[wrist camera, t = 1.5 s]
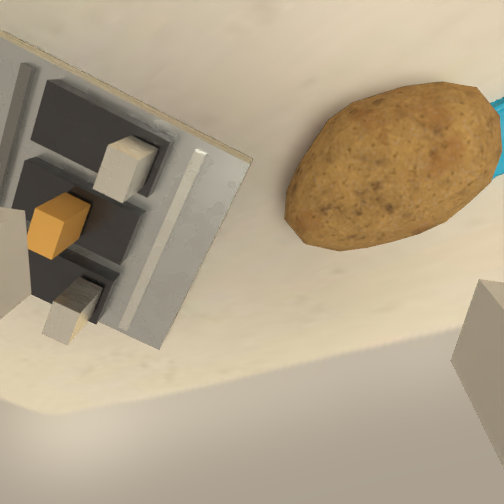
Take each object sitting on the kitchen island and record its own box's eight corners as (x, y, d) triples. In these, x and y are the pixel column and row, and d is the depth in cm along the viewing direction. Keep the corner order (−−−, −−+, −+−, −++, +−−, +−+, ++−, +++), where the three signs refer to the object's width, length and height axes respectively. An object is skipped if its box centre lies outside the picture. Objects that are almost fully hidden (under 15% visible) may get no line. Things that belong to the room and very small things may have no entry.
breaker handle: (53, 226, 34) (23, 246, 30) (65, 192, 33) (35, 208, 29) (78, 238, 34) (51, 259, 31) (90, 204, 33) (64, 222, 29)
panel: (-44, 238, 40) (-121, 276, 33) (3, 31, 33) (-80, 22, 26) (165, 337, 41) (136, 394, 34) (252, 158, 34) (239, 183, 27)
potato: (258, 151, 34) (246, 175, 27) (439, 43, 30) (483, 36, 23) (320, 257, 37) (325, 305, 30) (494, 169, 33) (549, 199, 26)
